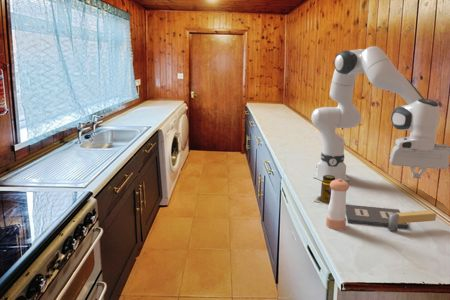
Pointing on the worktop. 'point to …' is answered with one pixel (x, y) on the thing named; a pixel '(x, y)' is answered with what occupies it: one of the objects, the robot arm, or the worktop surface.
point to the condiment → (325, 190)
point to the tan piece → (410, 218)
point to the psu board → (371, 215)
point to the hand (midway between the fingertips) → (416, 177)
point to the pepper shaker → (337, 205)
